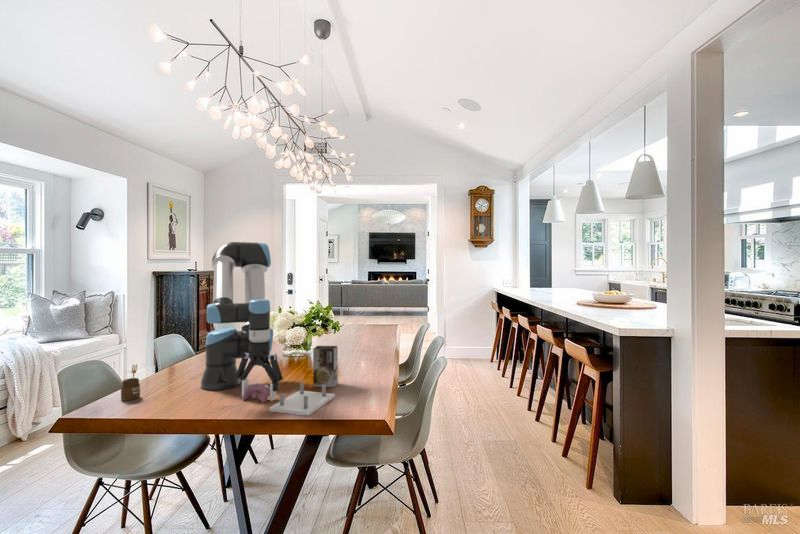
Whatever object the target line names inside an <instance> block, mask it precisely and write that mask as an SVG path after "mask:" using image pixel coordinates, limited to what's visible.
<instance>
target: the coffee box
mask: <svg viewBox="0 0 800 534" xmlns="http://www.w3.org/2000/svg"><path fill="white" fill-rule="evenodd" d="M312 357H313V358H312V359H313V360H312V363H313V364H312V366H313V367H312V368H313V369H312V370H313V373H312V374H313V377H312V379H313V381H312V382H313V383H312V385H313V386H312V387H314V388H322V385H326V388H335V387H336V386H337V385H338V382H339V381H338V379H339V378H338V376H339V375H338V369H339V368H338V366H339V365H338V345H317V346H315V347H313V348H312Z"/></svg>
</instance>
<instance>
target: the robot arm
mask: <svg viewBox="0 0 800 534" xmlns="http://www.w3.org/2000/svg"><path fill="white" fill-rule="evenodd" d="M271 261H272V260H271V252H270V248H269V246H268V245H267V243H264V242H258V241H256V242H246V241H245V242H244V241H243V242H240V241H231V242H227V243H225V244H223V245H222V246H220V247H219V248H218V249H216V251H215V253H214V254H213V256H212V259H211V267H212V269H213V288H212V290H213V291H212V303H209V304H207V306H206V322H207V323H208V324H217V325H219V324H231V323H233V324H234V323H235V324H236V323H243V325H242V326H241V330H237V328H236V327H225V328H224V327H223V328H220V329H214V330H212V331H210V332H207V334H206V336H205V343H204V344H205V367H204V368H205V369H204V372H203V374H202V379H200V380H201V381H200V388H201V389H203V390H205V391H207V390H208V391H218V390H221V391H222V390H227V389H231V388H235V387H237V386H240V389H241V398H242V397H243V394H244V393H245V391H246V390H247V389H248V387H249V378H248V376H249V375H250V372H251V371H252V370H253V368H254V366H259V367H262V368H263V369H264V371H265V372H266V373H267V376H268V377H269V379H270V381H271V382H270V385H269V387H270V395H269V401H271V402H272V401H275V400H277V392H278V391H279V382H280V381H283V380H284V378H283V375H282V371H281V368H280V365H279V362H278V355H277V354H276V353H275V354H271V351H272V349H273V348H272V347H273V341H274V330H273V328H271V326H270V325H271V323H270V322H271V321H270V319H271V302H270V300H269V299H266V291H265V290H266V288H265V287H266V286H265V284H266V283H265V273H267V272H268V268H270V267H271V265H272V264H271V263H272V262H271ZM235 268H240V270H241V272H242V273H243V274H244V302H243V303H242V302H240V303H238V302H237V303H236V302H235V303H234V269H235ZM237 359H241V361H240V363H239V366H238V367H237ZM249 359H250V360H249Z"/></svg>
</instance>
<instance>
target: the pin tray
mask: <svg viewBox="0 0 800 534" xmlns="http://www.w3.org/2000/svg"><path fill="white" fill-rule="evenodd" d="M304 384H305V382H300V383H299V390H298V391H296V392H294V393H292V394H291V395H289V396H287V397H285V393H283V392H281V393H279V402H277V403H274V404H273V405H271V406H270V407H269V409H268V410H269V412H273V413H275V412H276V413H280V414H281V413H283V414H291V415H299V416H305V415H307V417H308V415H309V416H310V415H311V414H313V413H314V412H316V411H317V410H318V409H320V408H321V407H323V406H324V405H326V404H327V403H329V402H330V401H331V400H332V399H334V398H335V393H330V392H329V393H328V392H327V387H326V385H322V387H321V392H319V391H310V390H305V389H304V388H305V385H304Z"/></svg>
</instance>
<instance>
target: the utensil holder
mask: <svg viewBox="0 0 800 534" xmlns="http://www.w3.org/2000/svg"><path fill="white" fill-rule="evenodd" d="M131 368H132V369H131V372H130V370H126V371H125V372H124V374H123V375H124V379H123V380H122V382H121V384H122V386H121V388H120V399H121V401H124V402H126V401H134V400H137V399H140V396H141V385H140V384H141V383H139V382H140V379H139V378H138V377H135V374H137V371H138V364H132V365H131ZM127 373H128V375H129V378H128V377H127V376H128V375H127ZM125 374H126V375H125ZM130 374H131V375H130Z"/></svg>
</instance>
